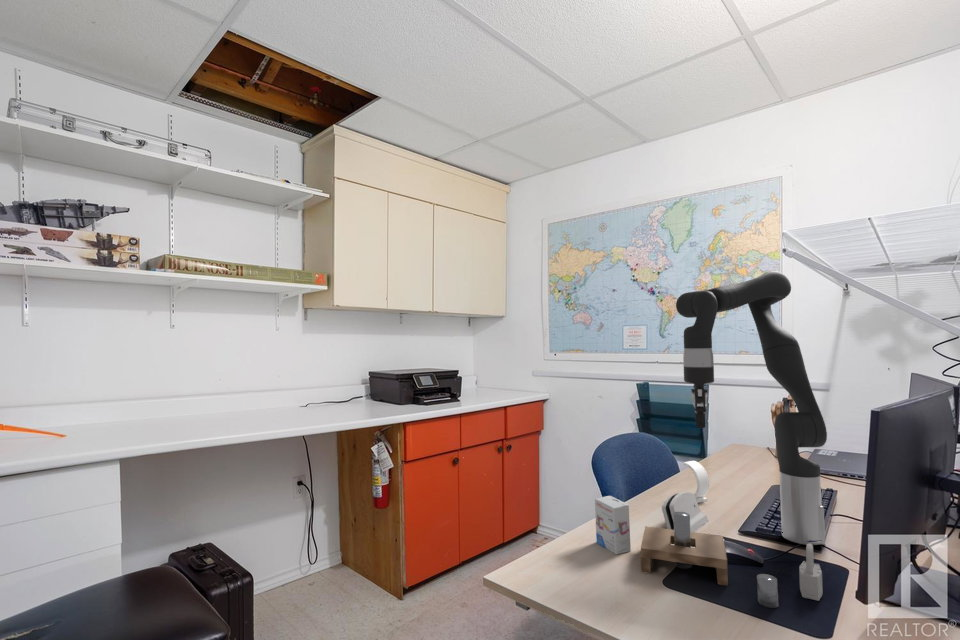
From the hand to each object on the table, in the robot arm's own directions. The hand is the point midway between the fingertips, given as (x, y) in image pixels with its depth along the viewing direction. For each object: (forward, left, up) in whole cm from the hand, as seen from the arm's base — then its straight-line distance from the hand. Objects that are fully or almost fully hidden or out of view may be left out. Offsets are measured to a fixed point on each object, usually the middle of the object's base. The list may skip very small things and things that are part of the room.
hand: (700, 425), depth 135 cm
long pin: (+5, +19, -30) cm, 36 cm away
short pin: (-11, +31, -30) cm, 45 cm away
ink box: (+22, +14, -30) cm, 40 cm away
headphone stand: (+1, -32, -30) cm, 44 cm away
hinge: (+5, -7, -30) cm, 32 cm away
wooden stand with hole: (+5, +19, -30) cm, 36 cm away
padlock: (-20, +23, -30) cm, 43 cm away
